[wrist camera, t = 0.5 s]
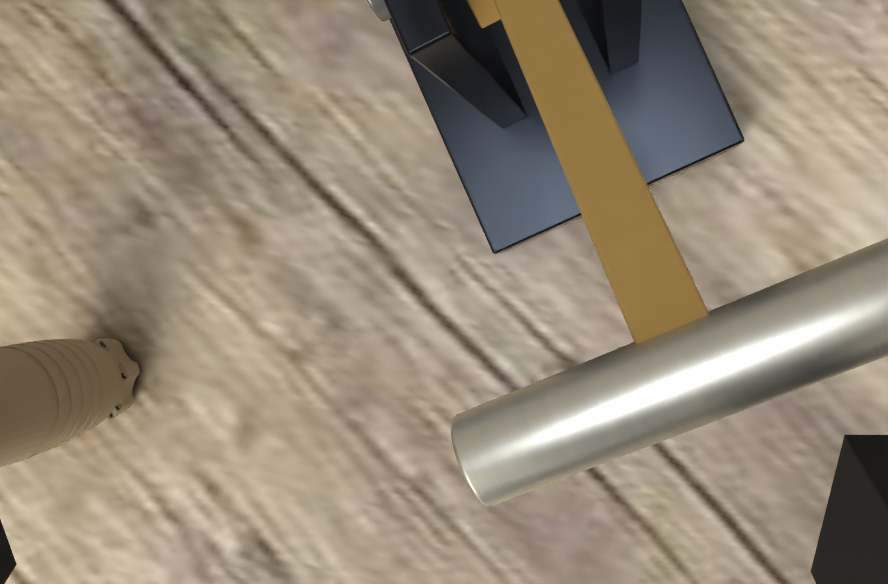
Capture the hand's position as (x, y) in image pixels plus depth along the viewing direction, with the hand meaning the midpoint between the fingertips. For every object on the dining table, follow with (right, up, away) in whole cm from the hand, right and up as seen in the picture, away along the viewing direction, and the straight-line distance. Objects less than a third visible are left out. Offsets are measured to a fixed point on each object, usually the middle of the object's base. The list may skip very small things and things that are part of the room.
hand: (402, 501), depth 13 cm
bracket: (+4, +12, +16) cm, 21 cm away
